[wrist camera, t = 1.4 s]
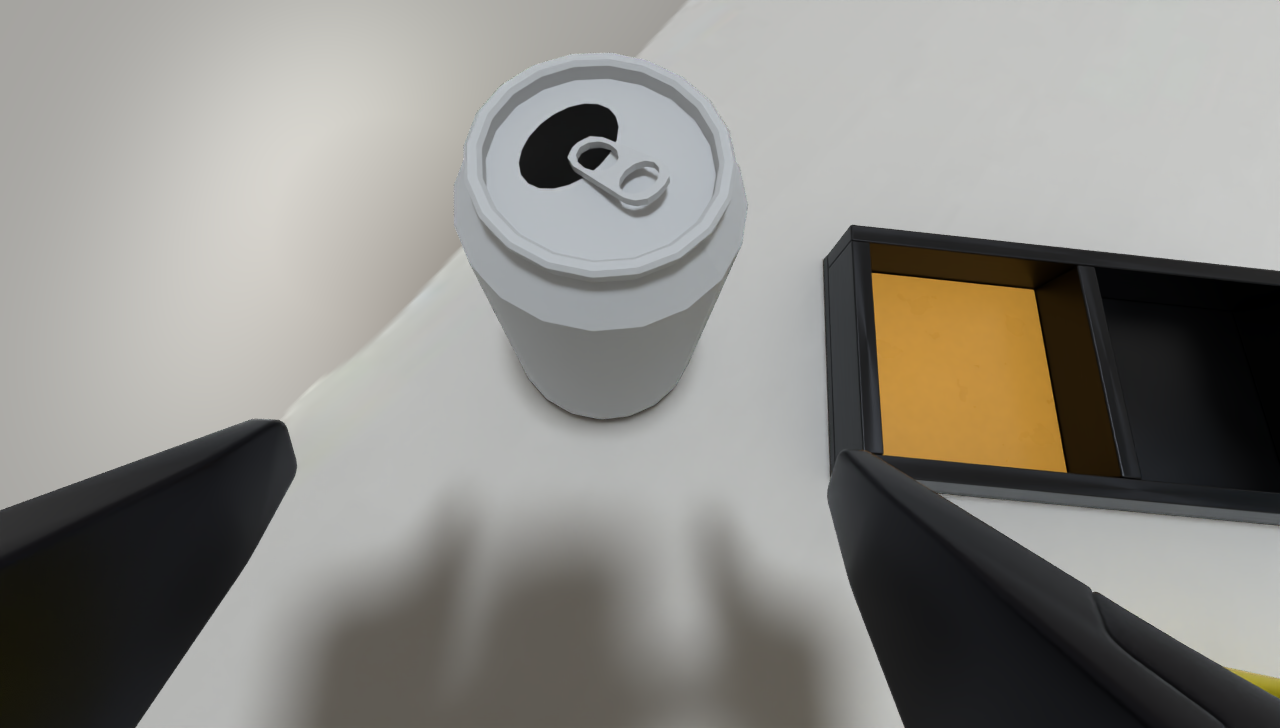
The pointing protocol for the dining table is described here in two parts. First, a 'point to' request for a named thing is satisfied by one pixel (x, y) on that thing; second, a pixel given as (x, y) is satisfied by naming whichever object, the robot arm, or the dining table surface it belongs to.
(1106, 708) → the robot arm
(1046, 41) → the dining table surface
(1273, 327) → the black divided tray
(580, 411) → the can
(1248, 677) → the element tile
